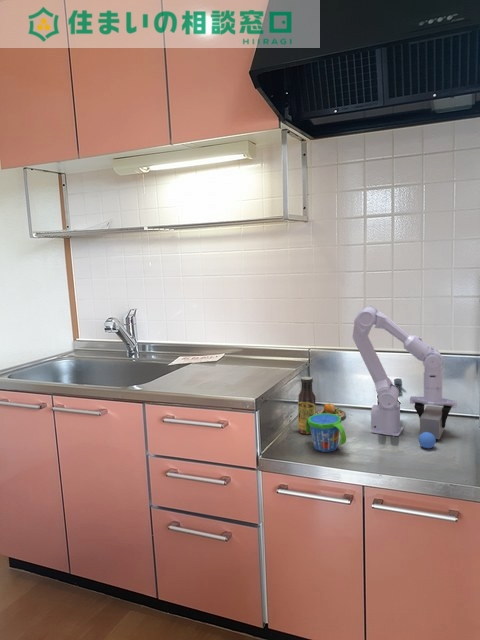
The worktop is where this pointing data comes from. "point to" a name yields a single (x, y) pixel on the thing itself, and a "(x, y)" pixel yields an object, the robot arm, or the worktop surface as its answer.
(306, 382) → the sauce bottle
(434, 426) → the grey rectangular block
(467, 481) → the worktop surface
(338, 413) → the fruit bowl
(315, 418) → the snack cup
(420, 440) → the ball
